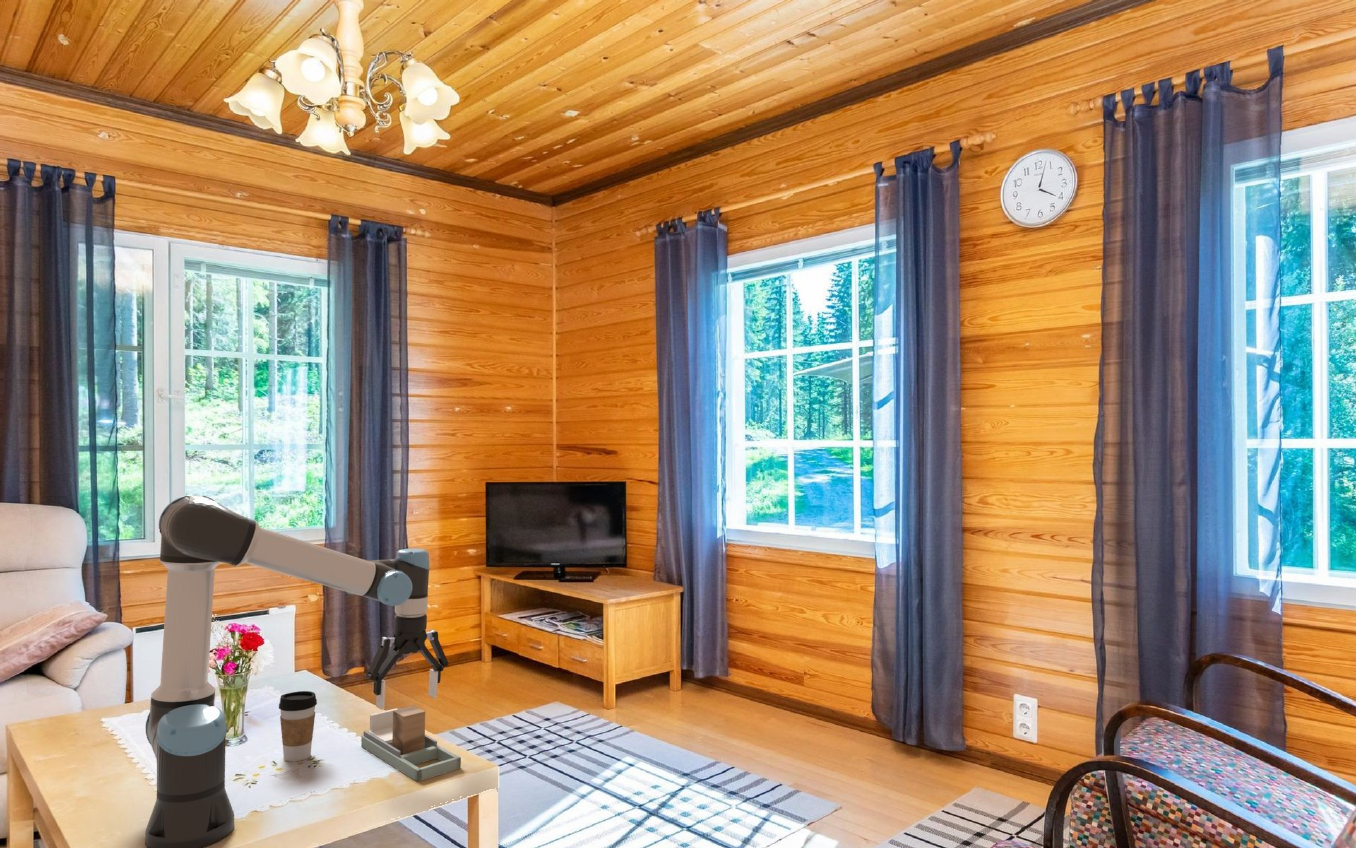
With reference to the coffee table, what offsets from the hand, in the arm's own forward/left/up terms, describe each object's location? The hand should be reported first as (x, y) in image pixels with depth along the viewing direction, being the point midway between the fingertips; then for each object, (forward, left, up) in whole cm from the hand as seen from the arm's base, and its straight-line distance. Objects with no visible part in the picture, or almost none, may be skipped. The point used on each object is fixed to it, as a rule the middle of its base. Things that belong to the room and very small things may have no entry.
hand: (407, 702), depth 208 cm
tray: (0, -1, -13) cm, 13 cm away
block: (0, 0, -13) cm, 13 cm away
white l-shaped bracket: (+8, +3, -10) cm, 14 cm away
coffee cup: (+9, +24, -13) cm, 29 cm away
